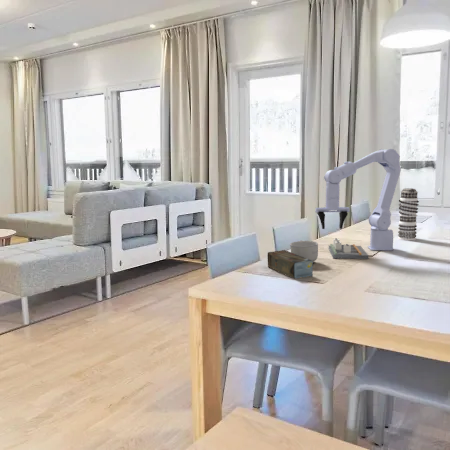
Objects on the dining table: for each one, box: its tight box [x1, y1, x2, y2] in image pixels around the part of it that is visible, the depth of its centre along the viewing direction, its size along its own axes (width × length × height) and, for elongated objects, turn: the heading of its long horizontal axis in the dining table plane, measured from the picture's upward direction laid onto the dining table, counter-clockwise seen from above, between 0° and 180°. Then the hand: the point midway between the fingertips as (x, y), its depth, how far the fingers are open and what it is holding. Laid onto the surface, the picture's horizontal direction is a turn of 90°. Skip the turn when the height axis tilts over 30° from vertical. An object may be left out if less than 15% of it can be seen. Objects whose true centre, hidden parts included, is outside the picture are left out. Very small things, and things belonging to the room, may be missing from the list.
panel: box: [327, 243, 369, 260], centre depth 197 cm, size 14×20×2 cm
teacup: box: [289, 240, 319, 263], centre depth 182 cm, size 14×11×8 cm
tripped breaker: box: [343, 243, 351, 253], centre depth 190 cm, size 2×4×3 cm, turn 173°
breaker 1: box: [332, 237, 341, 247], centre depth 204 cm, size 2×4×3 cm, turn 173°
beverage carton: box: [267, 249, 314, 279], centre depth 168 cm, size 8×19×7 cm, turn 24°
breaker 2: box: [335, 241, 342, 250], centre depth 197 cm, size 2×4×3 cm, turn 173°
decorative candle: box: [397, 187, 420, 241], centre depth 228 cm, size 9×9×25 cm
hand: (332, 228), depth 202 cm, fingers open, 7 cm apart
